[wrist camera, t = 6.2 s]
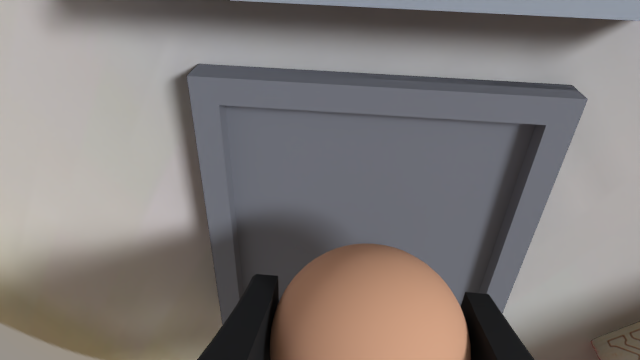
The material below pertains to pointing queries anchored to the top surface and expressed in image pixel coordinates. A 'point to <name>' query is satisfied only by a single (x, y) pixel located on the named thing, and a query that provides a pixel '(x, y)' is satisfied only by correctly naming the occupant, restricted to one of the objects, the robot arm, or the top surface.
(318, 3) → the low wall
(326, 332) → the ball
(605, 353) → the stack of blocks
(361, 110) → the tray
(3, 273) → the top surface
